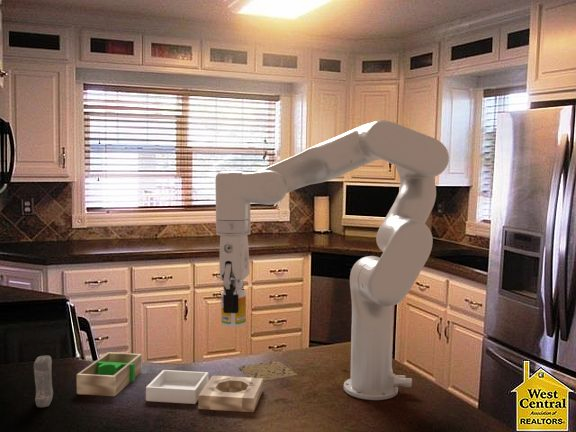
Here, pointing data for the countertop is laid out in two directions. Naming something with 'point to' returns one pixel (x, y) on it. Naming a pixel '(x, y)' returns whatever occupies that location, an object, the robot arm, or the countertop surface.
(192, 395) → the tray
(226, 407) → the plate
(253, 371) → the speckled tile
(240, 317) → the supplement bottle
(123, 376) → the parts corral
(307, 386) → the countertop surface
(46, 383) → the stone
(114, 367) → the pipe clamp
